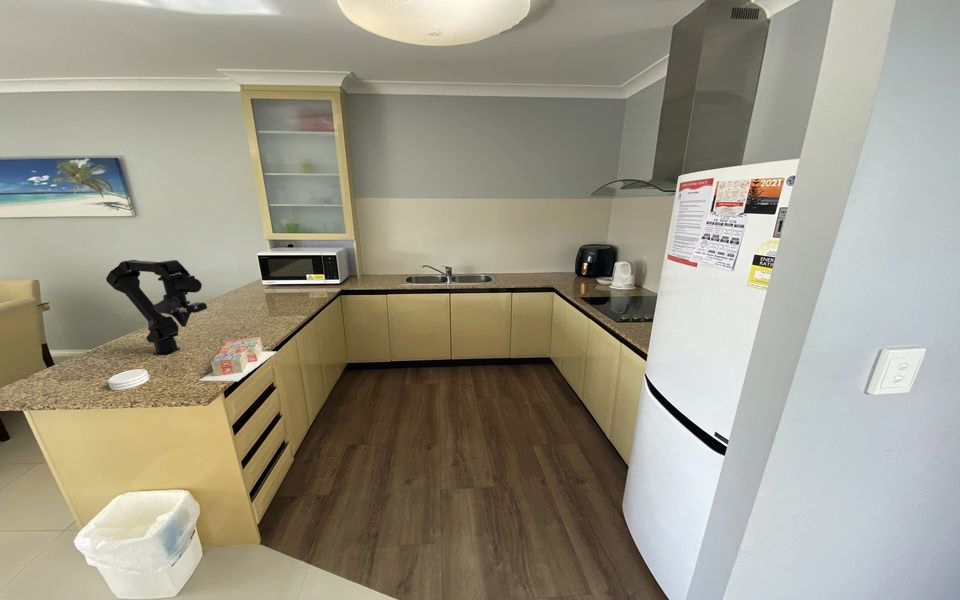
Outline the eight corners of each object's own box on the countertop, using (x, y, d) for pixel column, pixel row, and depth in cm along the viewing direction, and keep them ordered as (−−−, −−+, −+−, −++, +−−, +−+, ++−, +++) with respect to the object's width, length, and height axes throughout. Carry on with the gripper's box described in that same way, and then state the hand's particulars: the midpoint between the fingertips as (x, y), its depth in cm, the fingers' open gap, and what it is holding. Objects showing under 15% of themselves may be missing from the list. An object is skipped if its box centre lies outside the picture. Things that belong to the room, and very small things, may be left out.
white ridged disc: (142, 374, 124) (140, 366, 123) (155, 380, 120) (152, 372, 119) (105, 386, 115) (102, 378, 114) (117, 393, 111) (114, 384, 110)
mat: (199, 381, 120) (198, 380, 119) (244, 352, 144) (244, 351, 143) (237, 381, 120) (237, 380, 120) (276, 352, 144) (276, 351, 144)
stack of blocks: (213, 376, 122) (252, 371, 127) (210, 362, 120) (249, 356, 125) (230, 353, 141) (263, 349, 146) (227, 340, 139) (261, 336, 144)
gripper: (132, 296, 125) (143, 333, 129) (181, 296, 125) (190, 333, 129) (158, 288, 135) (168, 323, 140) (204, 289, 136) (212, 324, 140)
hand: (184, 326), depth 137 cm, fingers closed
